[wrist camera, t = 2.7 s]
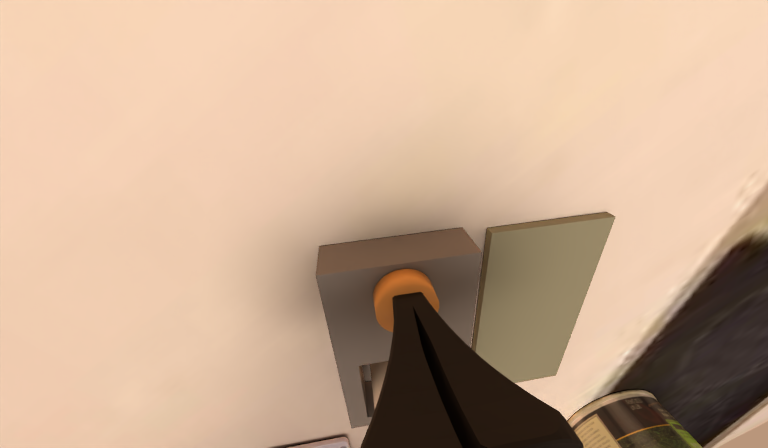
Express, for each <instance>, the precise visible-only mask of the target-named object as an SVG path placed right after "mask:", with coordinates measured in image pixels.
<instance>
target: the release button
mask: <svg viewBox="0 0 768 448" xmlns="http://www.w3.org/2000/svg"><path fill="white" fill-rule="evenodd" d="M415 292H422V293H423V294H424V296H425V297H426V298H427V300H428V301H429V303H430V304H431V305H432V307H433V308H434V309H435V310H436V312H437V313H438V310H439V300H438V297H437V295H436V293H435V291H434V288H433V286H432V284H431V281H430V279H429V278H428V277H427V276H426V275H425V274H424V273H422V272H420V271H418V270H414V269H400V270H396V271H393V272H390V273H389V274H387V275H385V276H384V277H383V278H381V279H380V280H379V282H378V283H377V284H376V286H375V288H374V291H373V300H374V307H375V313H376V319H377V321H378V323H379V324H380V325H381V327H383V328H384V329H386V330H388V331H390V332H393V326H394V316H393V301H392V298H393V297H394V296H396V295H402V294H409V293H415Z"/></svg>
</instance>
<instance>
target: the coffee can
mask: <svg viewBox="0 0 768 448" xmlns="http://www.w3.org/2000/svg"><path fill="white" fill-rule="evenodd" d="M567 422H568V423H569V424H570V426H571V427H572V428H573V430H574V431H575V433H576V434H577V436H578V437H579V439H580V440H581V442H582V443H583V446H584V448H702V447H701V445H699V444H698V443H697V441H696V440H695V439H694V438H693V437H692V436H691V435H690V434H689V433H688V432H687V431H686V430H685V429H684V428H683V427H682V426H681V425H680V424H679V423H678V422H677V421H676V420H675V419H674V418H673V416H672V415H671V414H670V413H669V412H668V411H667V410H666V409H665V408H664V407H663V406H662V405H661V404H660V403H659V402H658V401H657V400H656V398H655V397H654V395H653V394H651V393H649V392H648V391H644V390H626V391H621V392H617V393H613V394H609V395H606V396H604V397H602V398H599V399H597V400H595V401H593V402H591V403H589V404H588V405H586V406H584V407H583V408H581V409H580V410H579V411H577V412H576V413H575V414H574V415H573V416H572V417H571V418H570V419H569V420H568V421H567Z"/></svg>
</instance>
